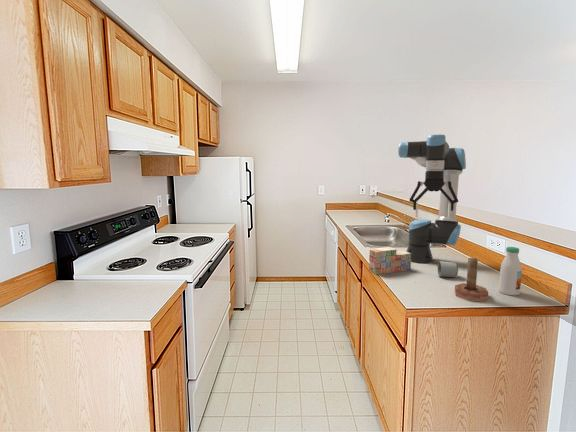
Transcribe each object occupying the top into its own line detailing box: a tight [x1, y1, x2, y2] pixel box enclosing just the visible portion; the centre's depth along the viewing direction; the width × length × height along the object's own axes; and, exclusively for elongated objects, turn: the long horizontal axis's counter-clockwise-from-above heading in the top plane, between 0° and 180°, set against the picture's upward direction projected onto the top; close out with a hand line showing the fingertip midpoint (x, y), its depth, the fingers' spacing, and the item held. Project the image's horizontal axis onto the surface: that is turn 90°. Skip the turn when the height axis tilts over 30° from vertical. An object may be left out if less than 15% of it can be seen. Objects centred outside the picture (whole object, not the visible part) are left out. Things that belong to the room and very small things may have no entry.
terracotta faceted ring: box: [454, 283, 489, 302], centre depth 146 cm, size 12×12×3 cm
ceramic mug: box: [437, 260, 459, 278], centre depth 171 cm, size 11×8×8 cm
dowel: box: [465, 257, 479, 291], centre depth 145 cm, size 4×4×16 cm
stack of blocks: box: [368, 246, 412, 275], centre depth 180 cm, size 21×6×12 cm, turn 106°
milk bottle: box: [498, 246, 523, 297], centre depth 147 cm, size 8×8×20 cm
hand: (432, 217), depth 155 cm, fingers open, 13 cm apart
